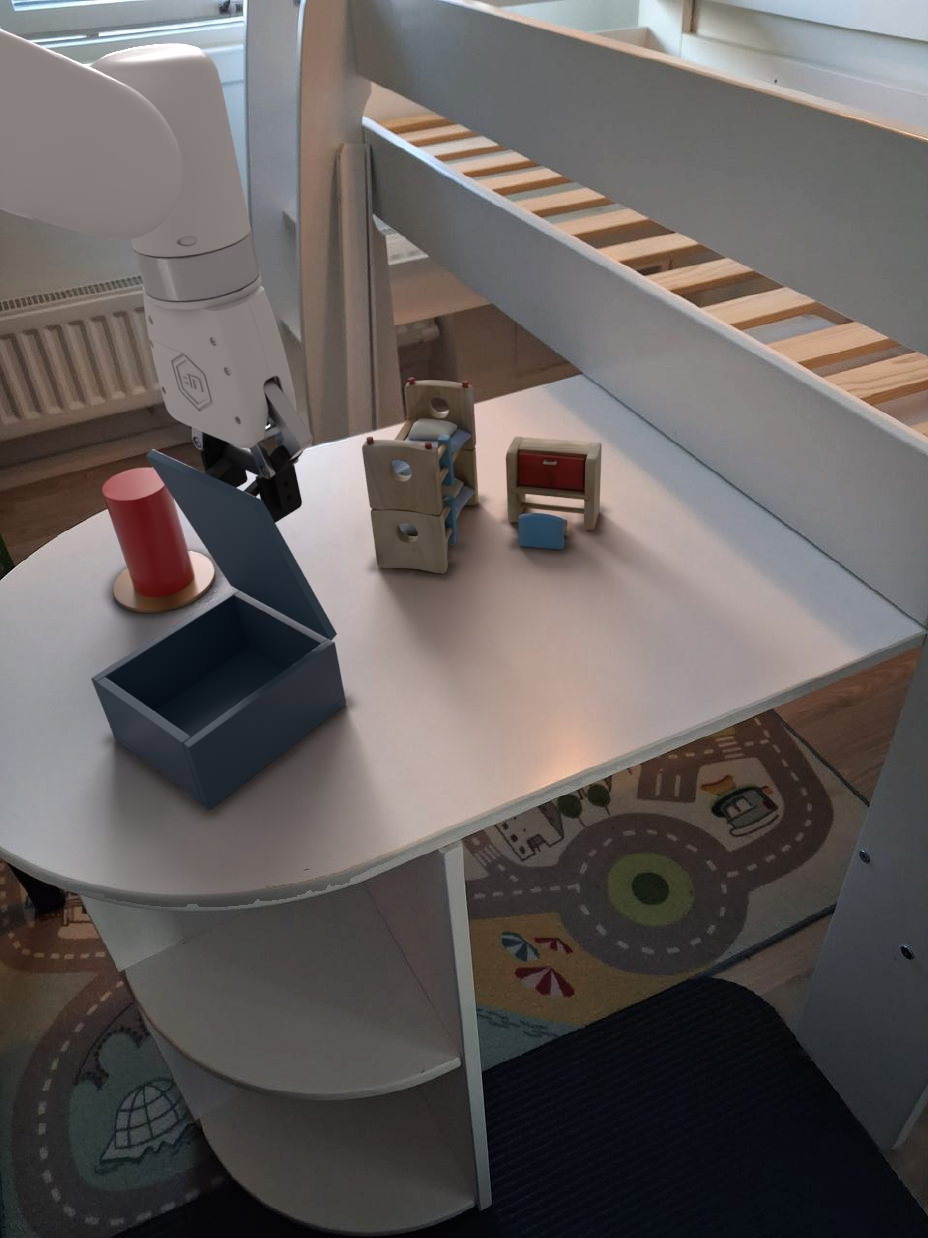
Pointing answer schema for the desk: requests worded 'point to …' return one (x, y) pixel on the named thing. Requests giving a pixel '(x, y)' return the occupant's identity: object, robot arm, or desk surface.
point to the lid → (242, 536)
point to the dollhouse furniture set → (465, 480)
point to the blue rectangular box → (221, 694)
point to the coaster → (146, 604)
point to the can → (148, 532)
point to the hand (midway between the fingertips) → (256, 499)
